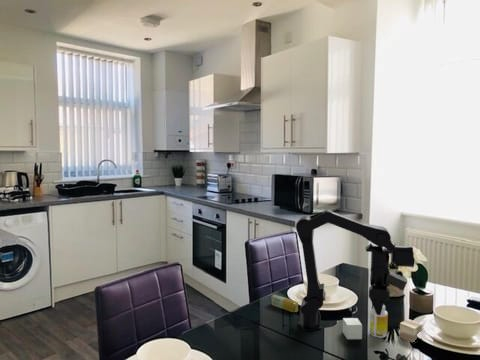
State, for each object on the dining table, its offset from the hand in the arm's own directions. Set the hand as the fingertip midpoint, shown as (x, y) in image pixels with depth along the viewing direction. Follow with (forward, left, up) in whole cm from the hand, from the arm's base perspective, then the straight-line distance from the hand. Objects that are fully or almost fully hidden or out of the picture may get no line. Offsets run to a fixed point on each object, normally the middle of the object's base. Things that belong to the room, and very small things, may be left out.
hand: (378, 309), depth 126 cm
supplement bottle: (0, 0, -9) cm, 9 cm away
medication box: (-22, +29, -9) cm, 38 cm away
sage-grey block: (-9, +2, -9) cm, 13 cm away
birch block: (+9, -5, -9) cm, 14 cm away
